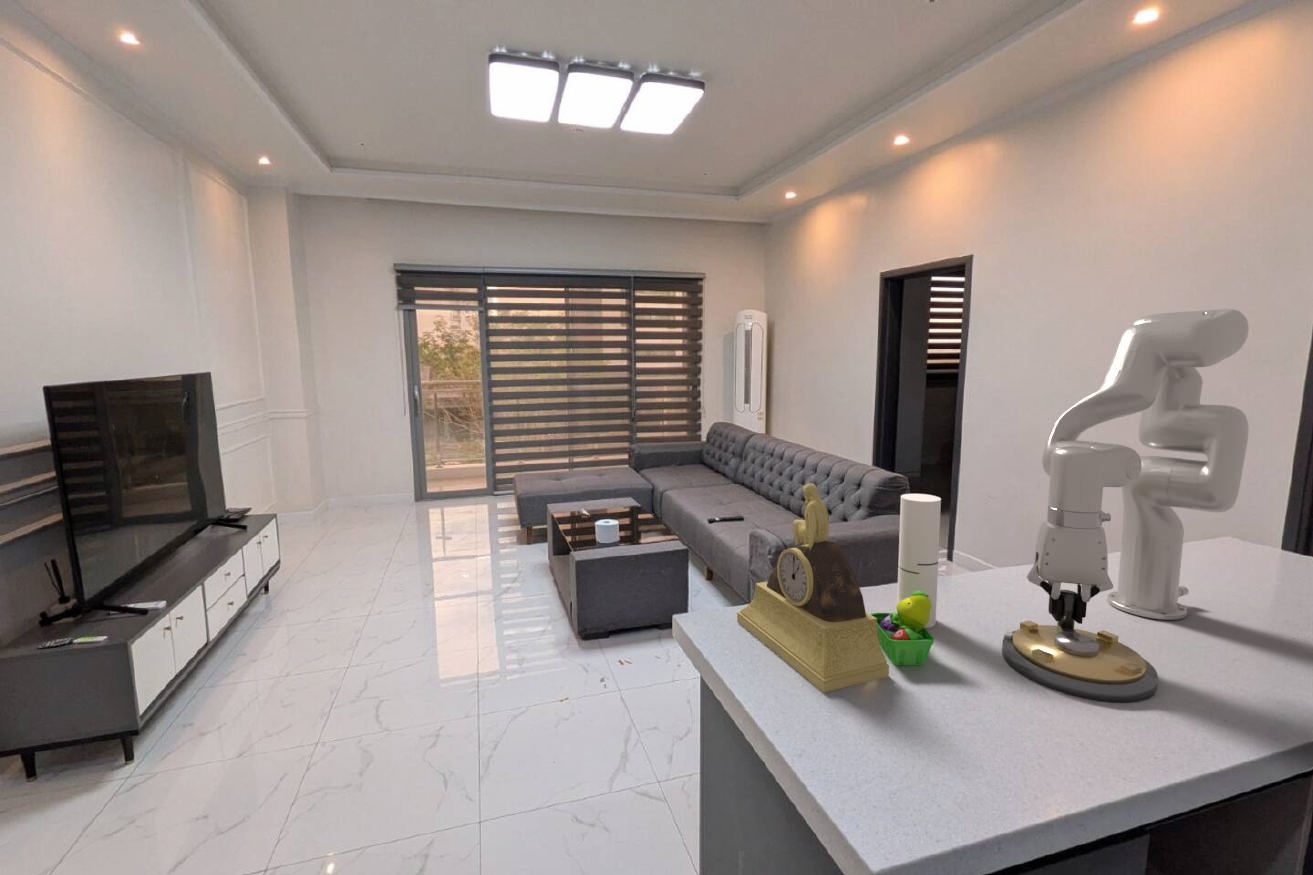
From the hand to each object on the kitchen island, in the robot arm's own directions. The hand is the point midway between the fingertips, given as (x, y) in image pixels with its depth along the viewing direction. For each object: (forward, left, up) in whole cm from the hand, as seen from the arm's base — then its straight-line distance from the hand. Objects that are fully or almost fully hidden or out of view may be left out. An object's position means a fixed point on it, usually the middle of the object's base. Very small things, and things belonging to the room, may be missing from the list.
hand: (1066, 618), depth 104 cm
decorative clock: (+42, -17, -6) cm, 46 cm away
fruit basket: (+28, -9, -6) cm, 30 cm away
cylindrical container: (+16, -19, -6) cm, 25 cm away
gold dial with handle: (+5, +5, -4) cm, 8 cm away
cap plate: (+5, +5, -6) cm, 9 cm away
